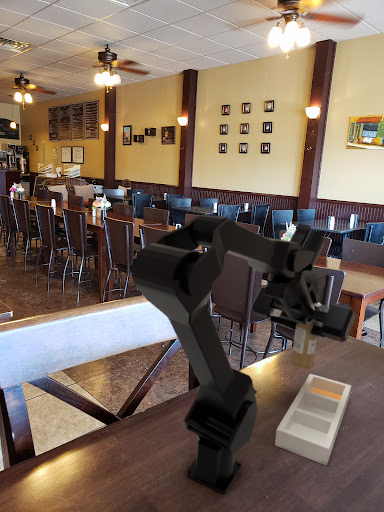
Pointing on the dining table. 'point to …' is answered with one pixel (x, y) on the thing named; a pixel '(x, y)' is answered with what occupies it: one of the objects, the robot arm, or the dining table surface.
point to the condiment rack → (314, 419)
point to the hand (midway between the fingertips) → (309, 332)
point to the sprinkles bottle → (304, 345)
